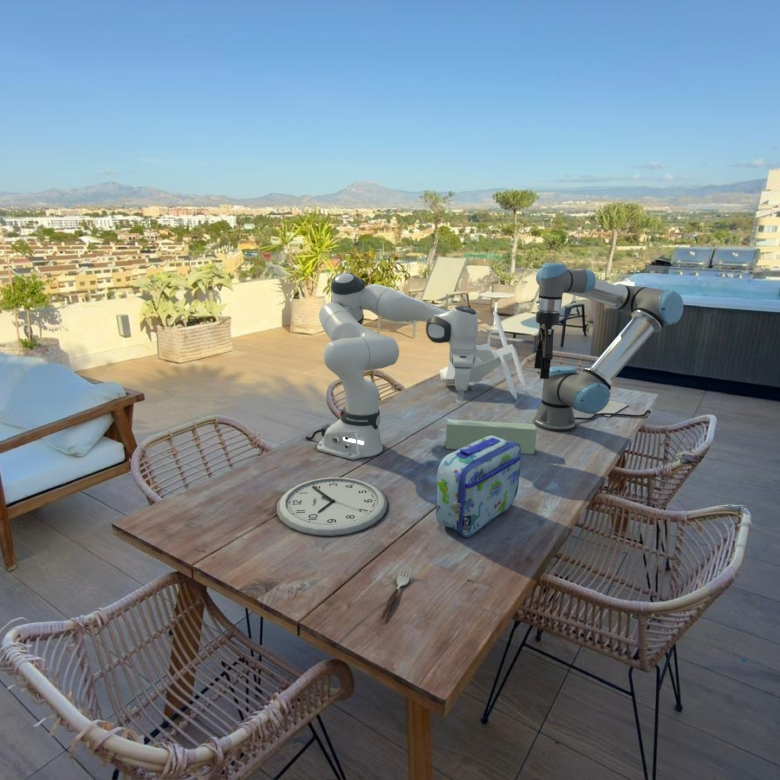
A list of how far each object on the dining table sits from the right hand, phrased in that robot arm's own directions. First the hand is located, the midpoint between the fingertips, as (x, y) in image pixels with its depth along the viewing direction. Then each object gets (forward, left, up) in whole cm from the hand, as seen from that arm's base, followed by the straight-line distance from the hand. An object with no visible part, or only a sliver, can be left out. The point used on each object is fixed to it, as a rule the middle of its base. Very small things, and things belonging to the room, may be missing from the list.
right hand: (541, 373), depth 179 cm
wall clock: (+61, +53, -26) cm, 85 cm away
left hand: (+27, +7, -7) cm, 29 cm away
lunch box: (+22, +54, -26) cm, 64 cm away
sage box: (+16, +7, -26) cm, 31 cm away
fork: (+40, +87, -26) cm, 99 cm away
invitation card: (-35, -46, -26) cm, 63 cm away
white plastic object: (+17, -58, -26) cm, 65 cm away
